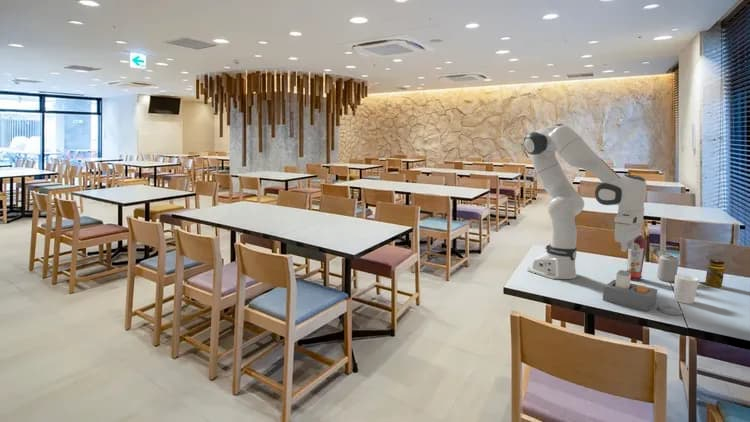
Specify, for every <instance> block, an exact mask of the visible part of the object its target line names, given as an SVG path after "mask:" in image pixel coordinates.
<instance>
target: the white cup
mask: <svg viewBox="0 0 750 422" xmlns="http://www.w3.org/2000/svg"><path fill="white" fill-rule="evenodd" d="M698 281H699V278H698V277H695V276H693V275H687V274H677V275H675V281H674V286H673V287H674V288H673V300H674V301H676V302H678V303H681V304H687V305H690V304H694V301H695V298H696V294H697V289H698V285H699V283H698ZM699 282H700V281H699Z"/></svg>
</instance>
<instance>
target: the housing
mask: <svg viewBox="0 0 750 422" xmlns="http://www.w3.org/2000/svg"><path fill="white" fill-rule="evenodd" d="M615 285H616V279H613V280H611V281H610V282H609V283H606V284H605V285H604V286H603V293H602V301H604V302H608V303H613V304H616V305H620V306H624V307H628V308H632V309H636V310H639V311H643V312H648V311H649V310H650V309H652V308H653V307H654V306H655V305H656V304H657V296H658V289H657V288H652V287H649V286H647V287H648V290H647V293H644V292H639V291H636V287H637V286H638V285H639V284H634V283H631V282H630V287H629V290H627V289H623V288H619V287H615Z"/></svg>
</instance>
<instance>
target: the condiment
mask: <svg viewBox="0 0 750 422" xmlns="http://www.w3.org/2000/svg"><path fill="white" fill-rule="evenodd" d="M724 273H725V261H724V260H721V259H717V258H710V259H709V262H708V265H707V268H706V276H705V281H698V285H701V286H702V287H703V288H710V289H711V288H712V289H722V290H726V288H725V287H723V282H724V275H725V274H724Z"/></svg>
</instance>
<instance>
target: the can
mask: <svg viewBox="0 0 750 422" xmlns="http://www.w3.org/2000/svg"><path fill="white" fill-rule="evenodd" d="M658 258H659V259H658V266H657V275H656V278H658V279H659V280H660V281H662V282H667V283H671V282H675V275H678V267H679V261H680V260H679V259H678V256H677V255H676V254H672V253H661V255H660V256H659V257H658Z"/></svg>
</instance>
